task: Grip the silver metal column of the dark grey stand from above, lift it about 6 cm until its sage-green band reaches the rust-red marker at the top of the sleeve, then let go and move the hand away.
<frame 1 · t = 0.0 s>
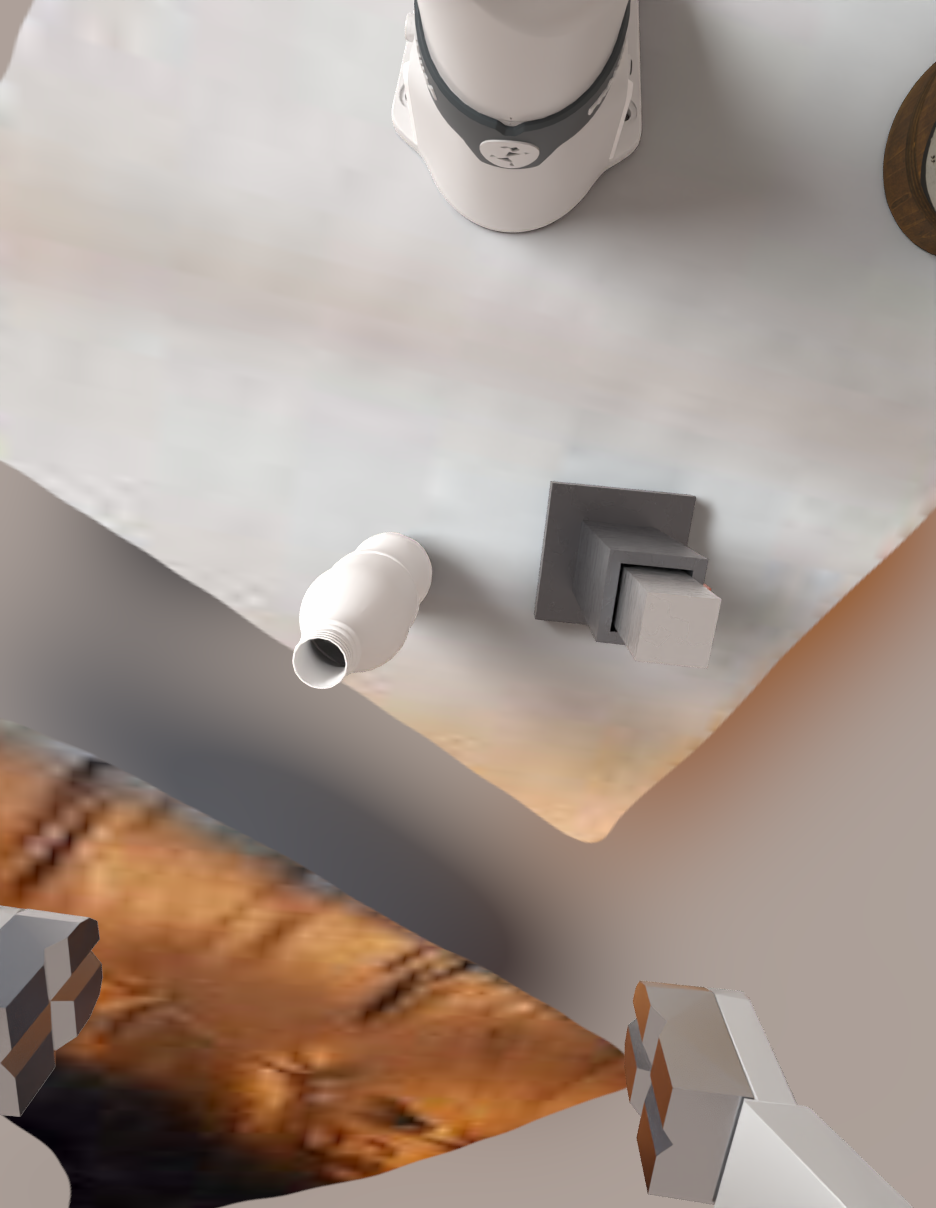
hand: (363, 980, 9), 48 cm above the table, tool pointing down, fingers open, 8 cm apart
stand: (609, 555, 56), on the table
column: (638, 587, 44), point 12 cm above the table, slide at 0.0 cm
water bottle: (396, 566, 57), on the table
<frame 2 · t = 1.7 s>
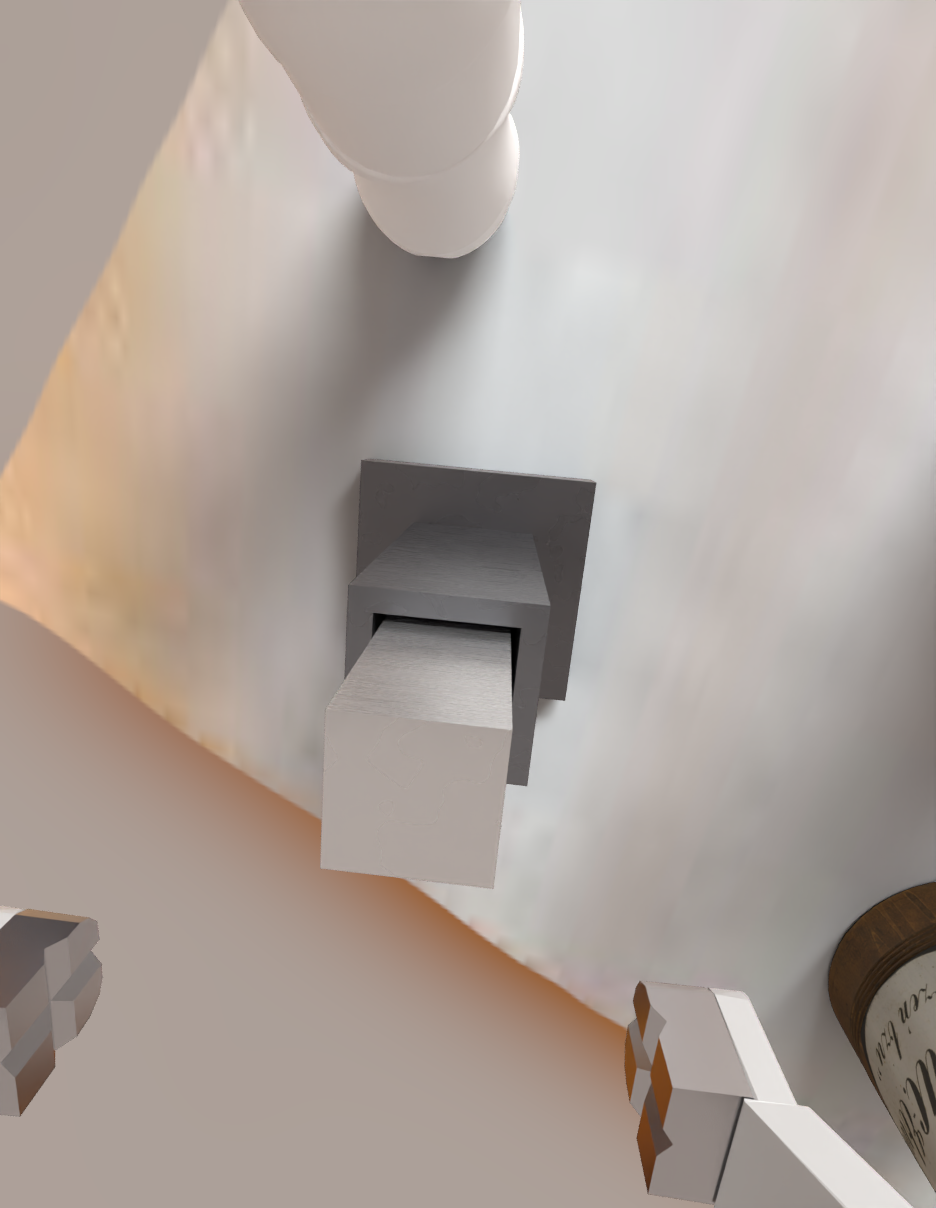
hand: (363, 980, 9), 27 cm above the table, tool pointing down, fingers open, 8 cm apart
stand: (469, 577, 35), on the table
column: (450, 650, 23), point 12 cm above the table, slide at 0.0 cm
water bottle: (443, 192, 30), on the table
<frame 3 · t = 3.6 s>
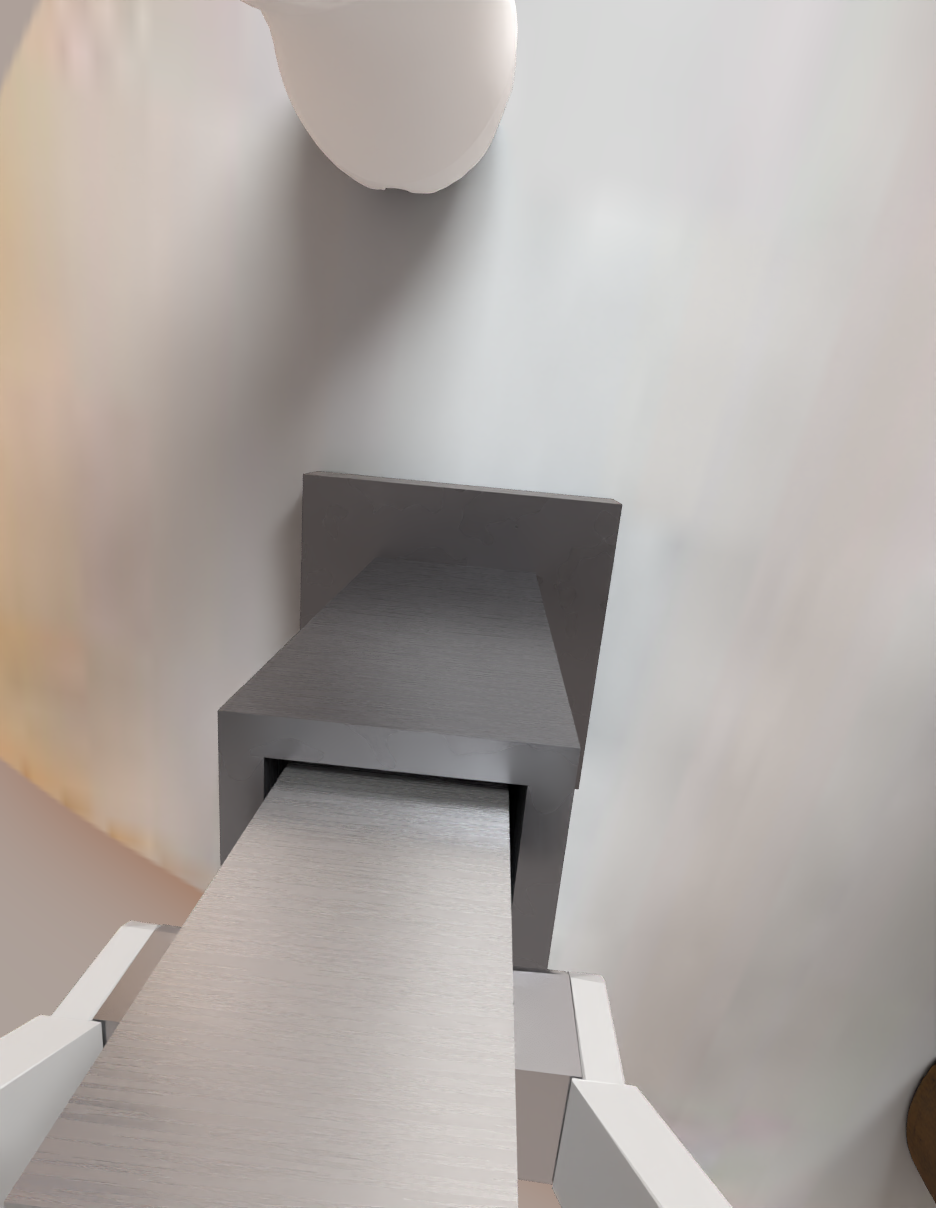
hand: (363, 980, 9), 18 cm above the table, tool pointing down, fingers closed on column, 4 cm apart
stand: (452, 626, 27), on the table
column: (414, 776, 15), point 12 cm above the table, slide at 0.0 cm, touching gripper
water bottle: (412, 105, 22), on the table
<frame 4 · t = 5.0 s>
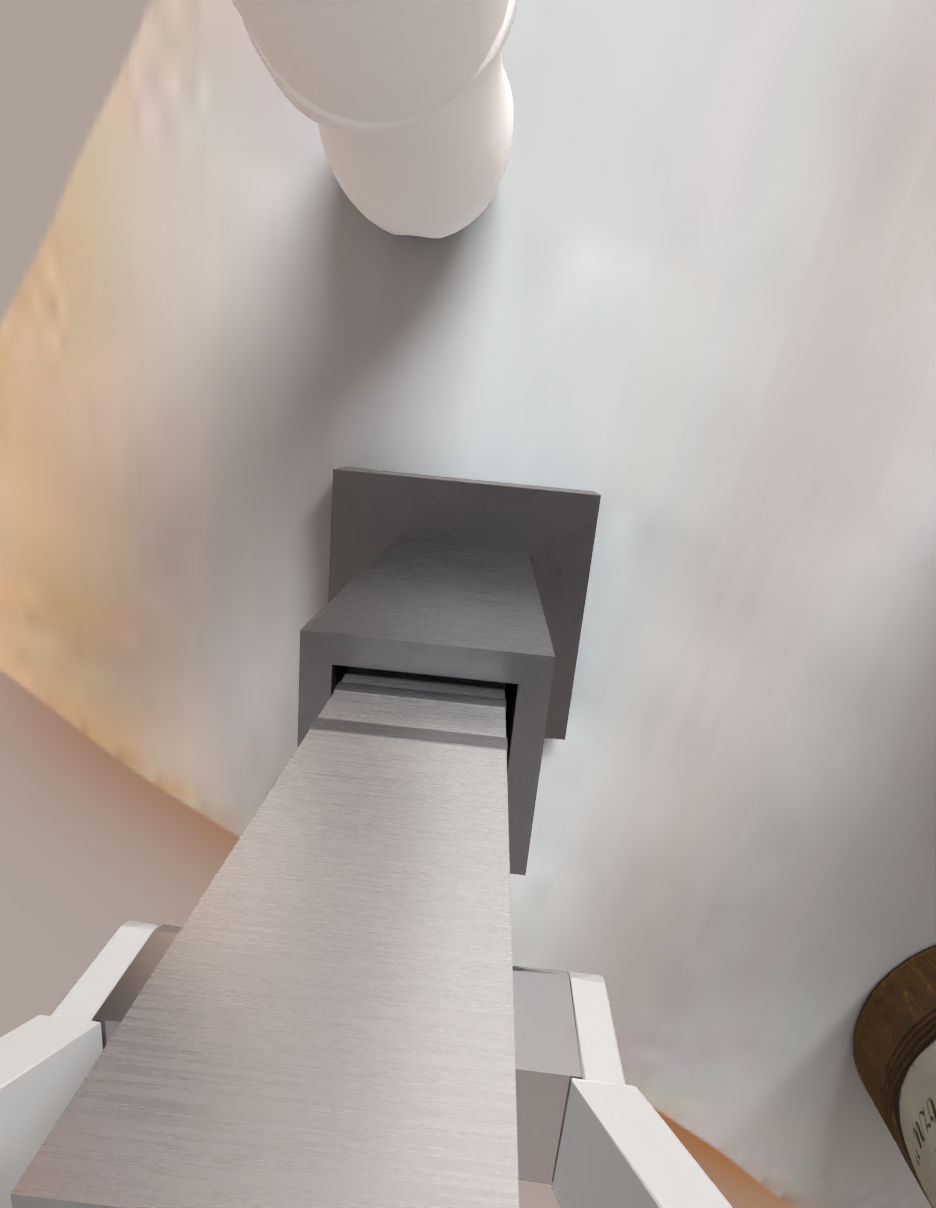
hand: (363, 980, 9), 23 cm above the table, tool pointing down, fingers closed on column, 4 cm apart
stand: (457, 600, 31), on the table
column: (413, 776, 15), point 17 cm above the table, slide at 4.6 cm, touching gripper
water bottle: (427, 164, 27), on the table
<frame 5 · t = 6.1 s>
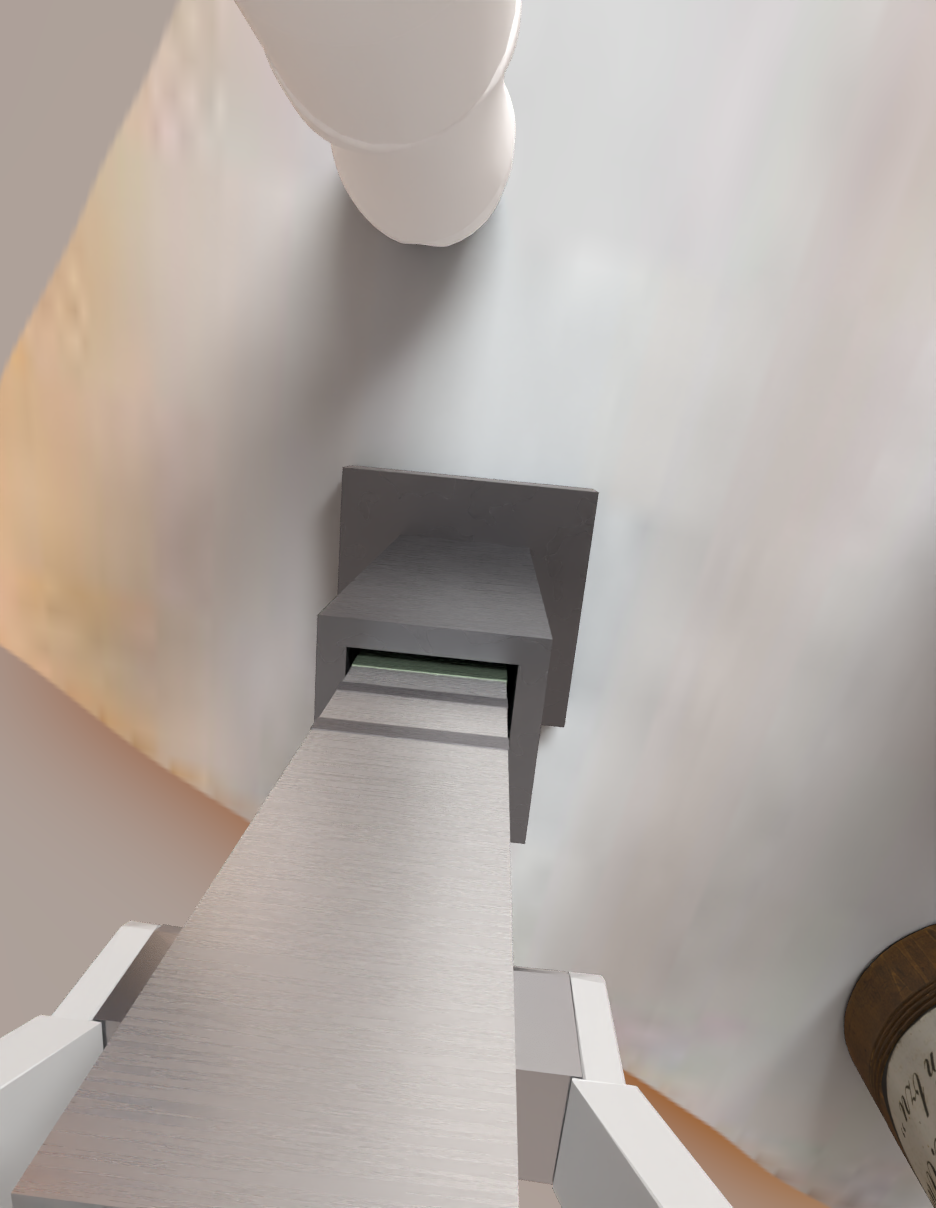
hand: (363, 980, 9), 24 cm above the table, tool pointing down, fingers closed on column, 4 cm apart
stand: (461, 593, 33), on the table
column: (415, 776, 15), point 18 cm above the table, slide at 5.9 cm, touching gripper
water bottle: (432, 175, 28), on the table
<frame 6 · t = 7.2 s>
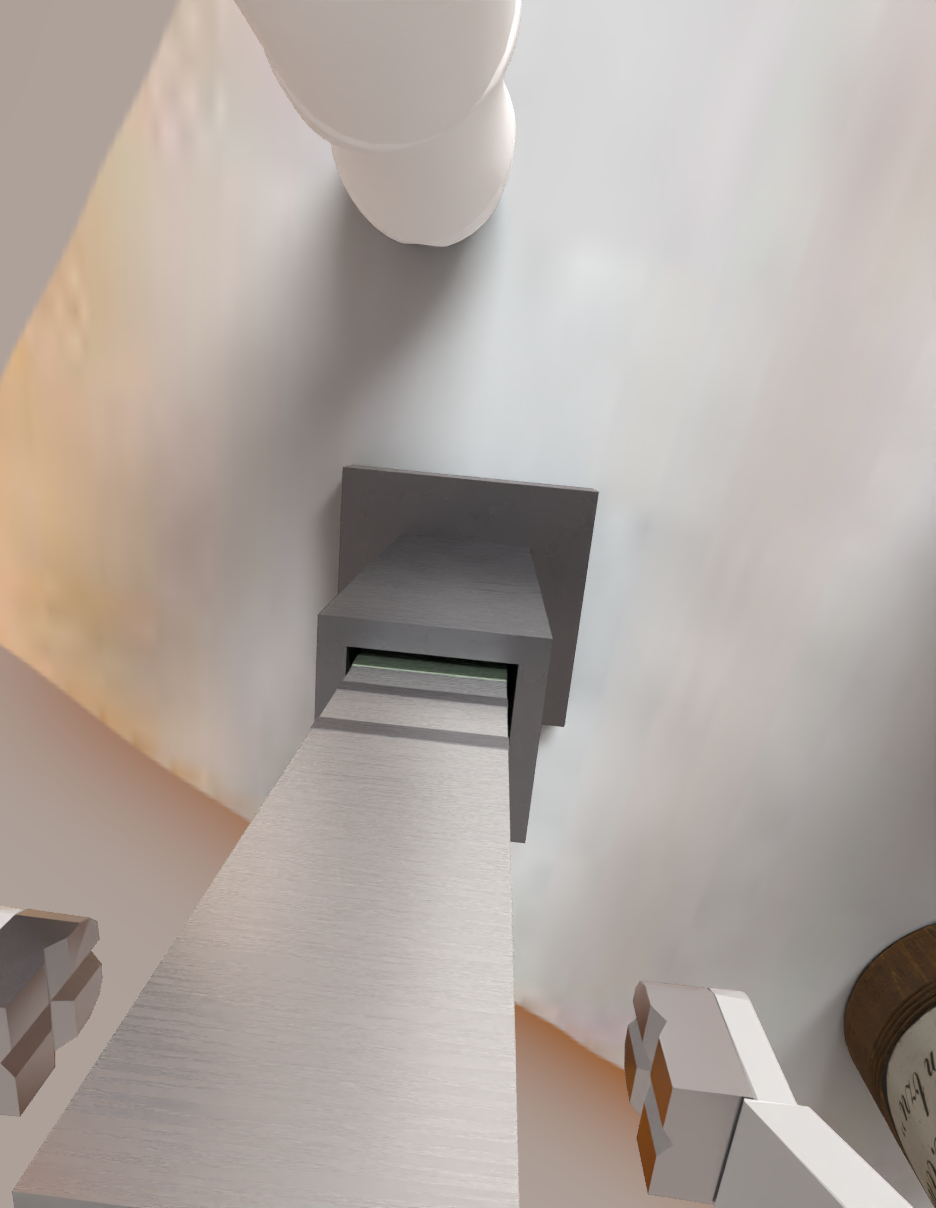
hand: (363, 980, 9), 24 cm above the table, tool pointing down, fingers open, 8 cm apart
stand: (461, 593, 33), on the table
column: (415, 775, 15), point 18 cm above the table, slide at 5.9 cm
water bottle: (432, 175, 28), on the table
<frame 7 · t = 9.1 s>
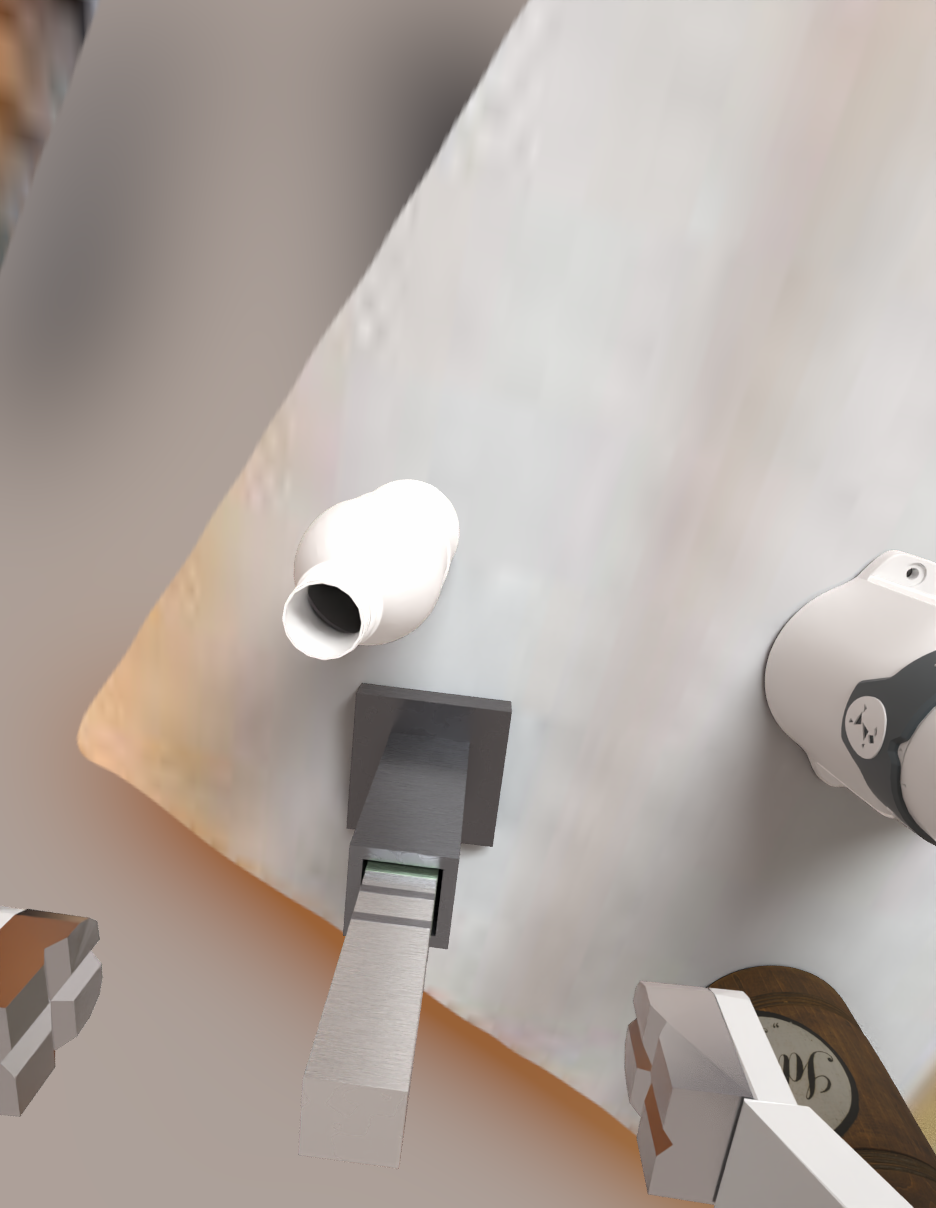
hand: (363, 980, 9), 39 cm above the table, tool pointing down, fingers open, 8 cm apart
stand: (429, 759, 51), on the table
wooden container: (763, 1027, 57), on the table
column: (393, 927, 34), point 18 cm above the table, slide at 5.9 cm
water bottle: (414, 525, 47), on the table
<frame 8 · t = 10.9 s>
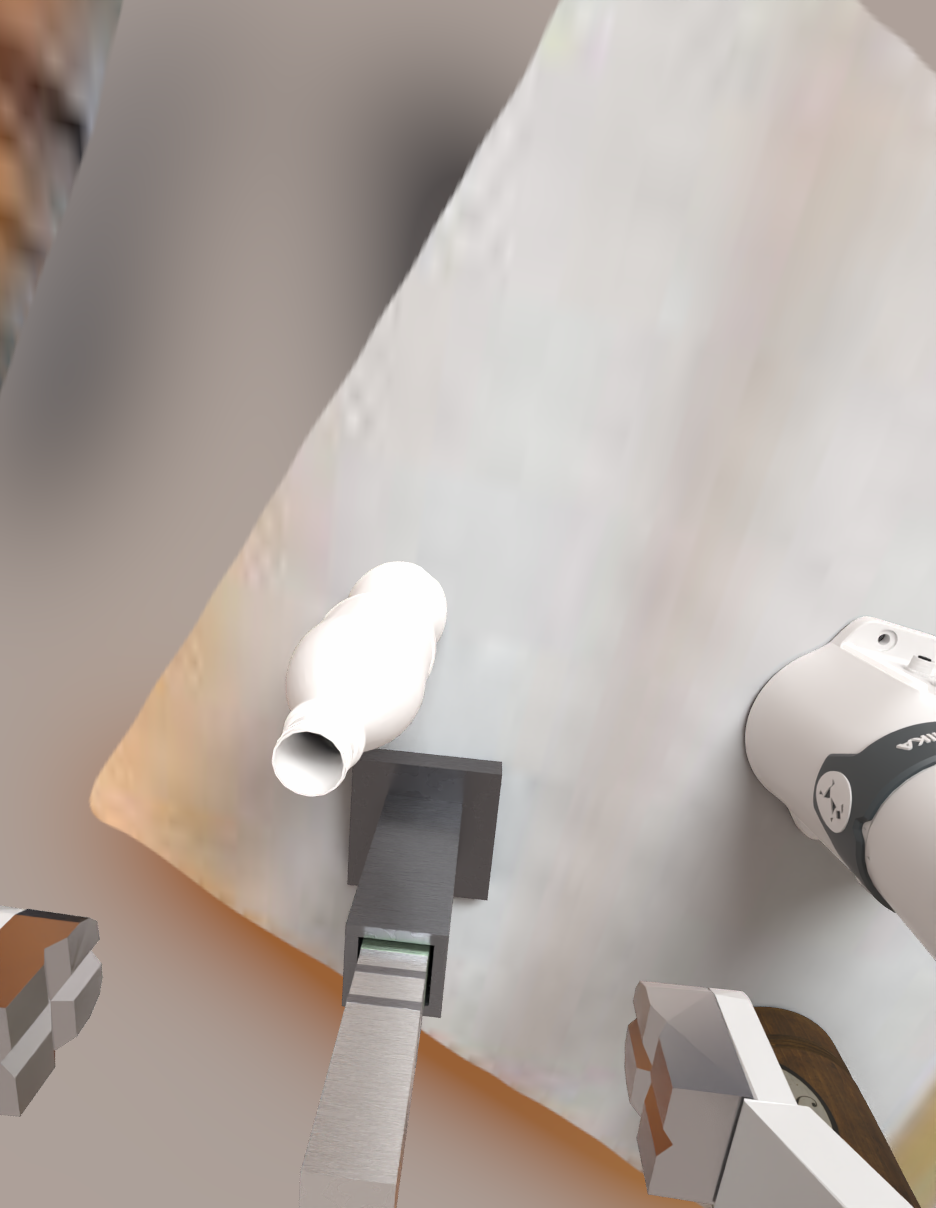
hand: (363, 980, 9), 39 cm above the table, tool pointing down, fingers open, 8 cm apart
stand: (424, 817, 53), on the table
wooden container: (754, 1065, 59), on the table
column: (387, 1003, 36), point 18 cm above the table, slide at 5.9 cm
water bottle: (404, 599, 49), on the table
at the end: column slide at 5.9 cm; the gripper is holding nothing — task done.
